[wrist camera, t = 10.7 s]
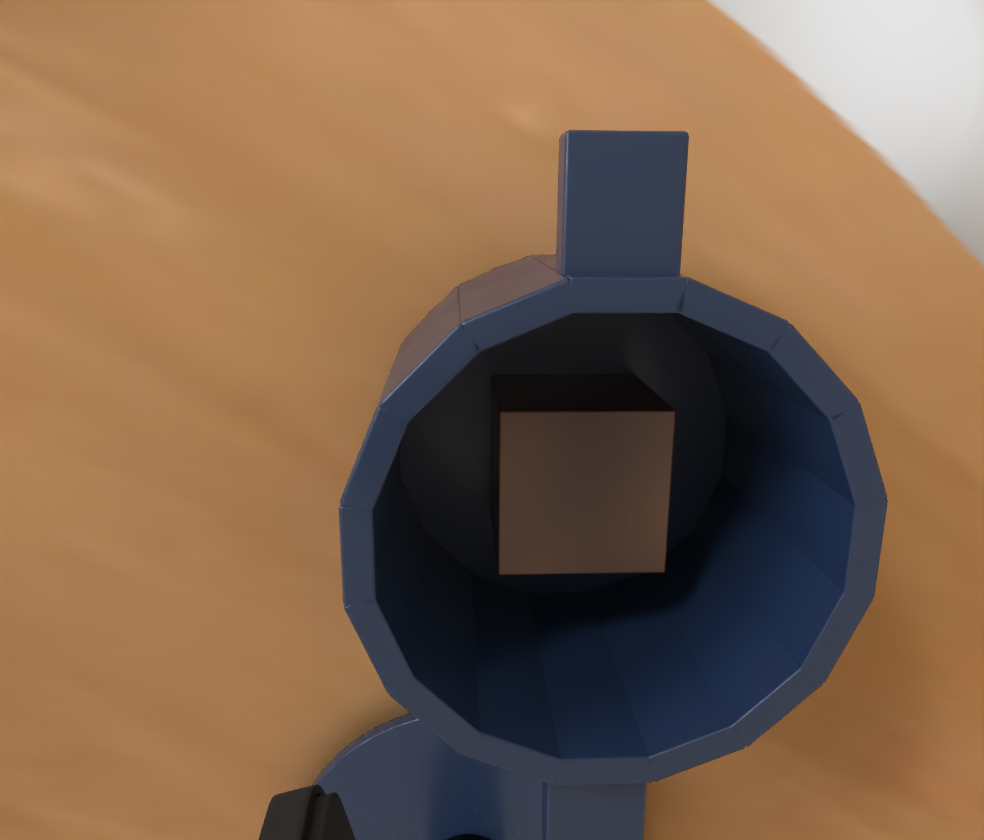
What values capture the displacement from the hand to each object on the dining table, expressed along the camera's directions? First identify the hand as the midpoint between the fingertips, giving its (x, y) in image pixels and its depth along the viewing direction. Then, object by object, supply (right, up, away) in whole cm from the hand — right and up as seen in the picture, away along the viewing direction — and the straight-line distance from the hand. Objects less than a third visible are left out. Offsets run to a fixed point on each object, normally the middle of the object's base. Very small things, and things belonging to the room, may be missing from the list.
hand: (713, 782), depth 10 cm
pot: (-1, +4, +15) cm, 15 cm away
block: (-1, +4, +14) cm, 15 cm away
